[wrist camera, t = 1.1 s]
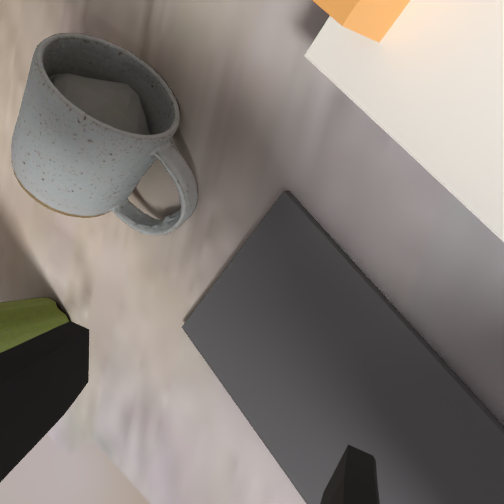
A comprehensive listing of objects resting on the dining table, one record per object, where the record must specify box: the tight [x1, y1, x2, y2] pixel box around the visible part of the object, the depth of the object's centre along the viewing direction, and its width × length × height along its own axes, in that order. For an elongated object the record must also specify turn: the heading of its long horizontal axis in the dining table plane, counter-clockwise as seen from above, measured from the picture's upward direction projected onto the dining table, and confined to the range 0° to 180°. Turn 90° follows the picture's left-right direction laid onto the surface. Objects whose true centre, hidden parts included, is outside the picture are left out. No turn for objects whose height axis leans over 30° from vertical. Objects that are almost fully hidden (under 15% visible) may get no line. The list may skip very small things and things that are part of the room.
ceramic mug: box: [11, 33, 198, 235], centre depth 26 cm, size 11×8×8 cm
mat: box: [182, 191, 504, 504], centre depth 23 cm, size 17×12×1 cm
